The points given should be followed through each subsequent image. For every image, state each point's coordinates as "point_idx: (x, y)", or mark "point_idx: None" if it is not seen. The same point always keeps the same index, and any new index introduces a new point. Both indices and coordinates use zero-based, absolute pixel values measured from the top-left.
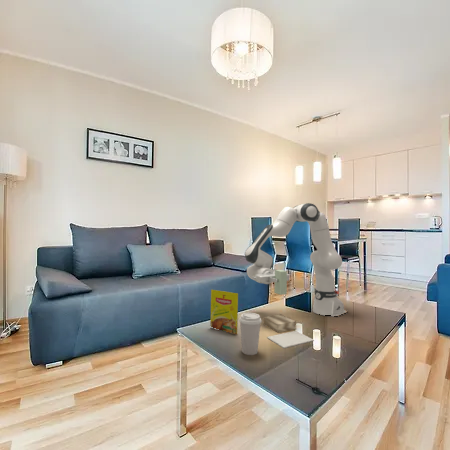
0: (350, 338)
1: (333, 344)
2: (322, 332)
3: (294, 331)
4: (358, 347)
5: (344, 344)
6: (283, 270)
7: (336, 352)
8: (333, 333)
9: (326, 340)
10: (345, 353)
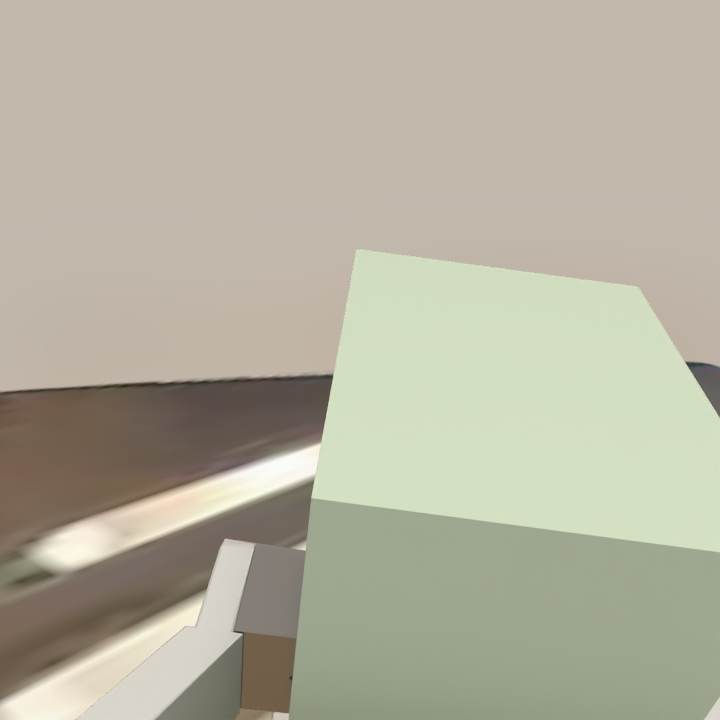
0: (26, 490)
1: (229, 504)
2: (51, 653)
3: None
4: (148, 426)
5: (170, 473)
6: (359, 340)
7: (318, 456)
8: (5, 592)
9: (203, 554)
10: (287, 433)
